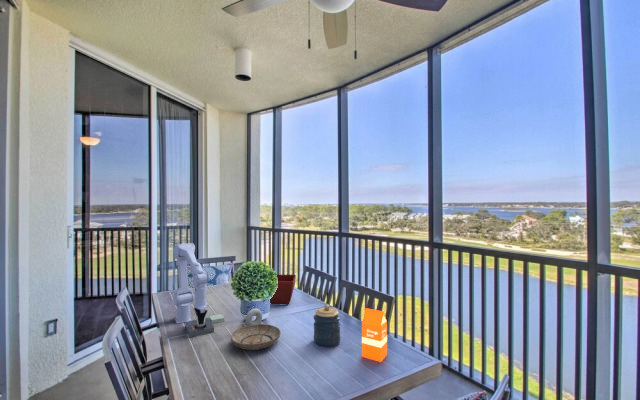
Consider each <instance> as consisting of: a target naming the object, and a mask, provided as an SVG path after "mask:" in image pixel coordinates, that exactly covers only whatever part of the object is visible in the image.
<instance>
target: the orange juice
mask: <svg viewBox="0 0 640 400" xmlns="http://www.w3.org/2000/svg"><path fill="white" fill-rule="evenodd" d="M387 356H388V321H387V318H386V314H385V312H384V311H383V310H378V309H372V308H368V307H365V309H364V313H363V318H362V322H361V357H362V358H366V359H368V360H372V361H376V362H379V363H382V362H383V360H384V359H385V358H386V357H387Z"/></svg>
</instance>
